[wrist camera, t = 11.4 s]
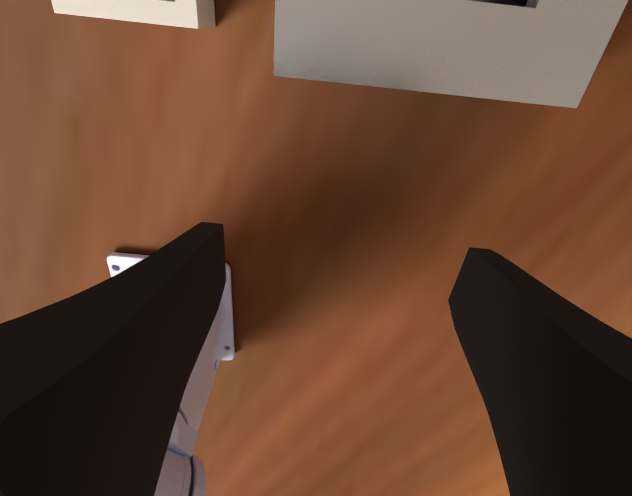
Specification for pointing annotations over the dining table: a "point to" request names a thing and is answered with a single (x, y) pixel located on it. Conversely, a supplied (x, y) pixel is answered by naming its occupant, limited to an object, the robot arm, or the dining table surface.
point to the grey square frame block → (449, 45)
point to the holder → (144, 11)
